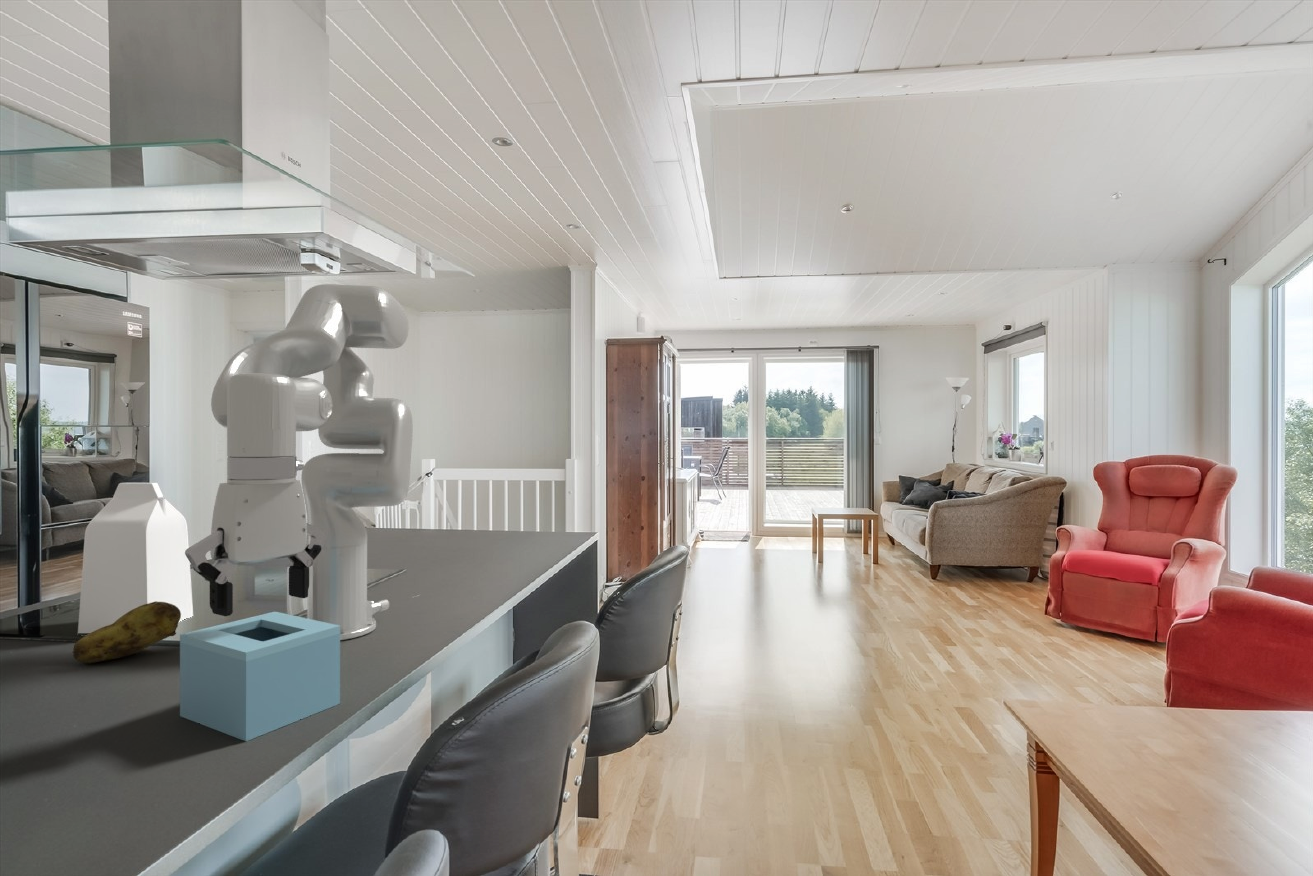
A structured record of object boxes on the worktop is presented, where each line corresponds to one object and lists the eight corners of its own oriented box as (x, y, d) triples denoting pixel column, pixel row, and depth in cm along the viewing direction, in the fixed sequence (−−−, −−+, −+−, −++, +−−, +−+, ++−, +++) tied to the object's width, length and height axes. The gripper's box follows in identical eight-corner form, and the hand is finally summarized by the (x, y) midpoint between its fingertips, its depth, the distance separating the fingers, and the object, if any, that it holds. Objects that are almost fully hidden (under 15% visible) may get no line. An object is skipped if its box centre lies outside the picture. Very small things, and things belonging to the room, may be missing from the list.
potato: (83, 655, 104) (83, 604, 104) (183, 642, 110) (183, 595, 110) (68, 672, 97) (68, 617, 96) (176, 657, 103) (176, 606, 103)
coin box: (274, 683, 92) (274, 611, 92) (340, 703, 86) (340, 625, 86) (180, 716, 82) (180, 634, 82) (246, 741, 75) (246, 652, 75)
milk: (77, 635, 114) (77, 485, 114) (129, 616, 125) (129, 480, 125) (147, 635, 114) (147, 485, 114) (193, 616, 126) (193, 480, 126)
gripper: (307, 467, 93) (307, 587, 93) (170, 473, 78) (170, 617, 78) (342, 468, 89) (342, 594, 90) (205, 475, 74) (205, 627, 74)
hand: (262, 605), depth 84 cm, fingers open, 9 cm apart
